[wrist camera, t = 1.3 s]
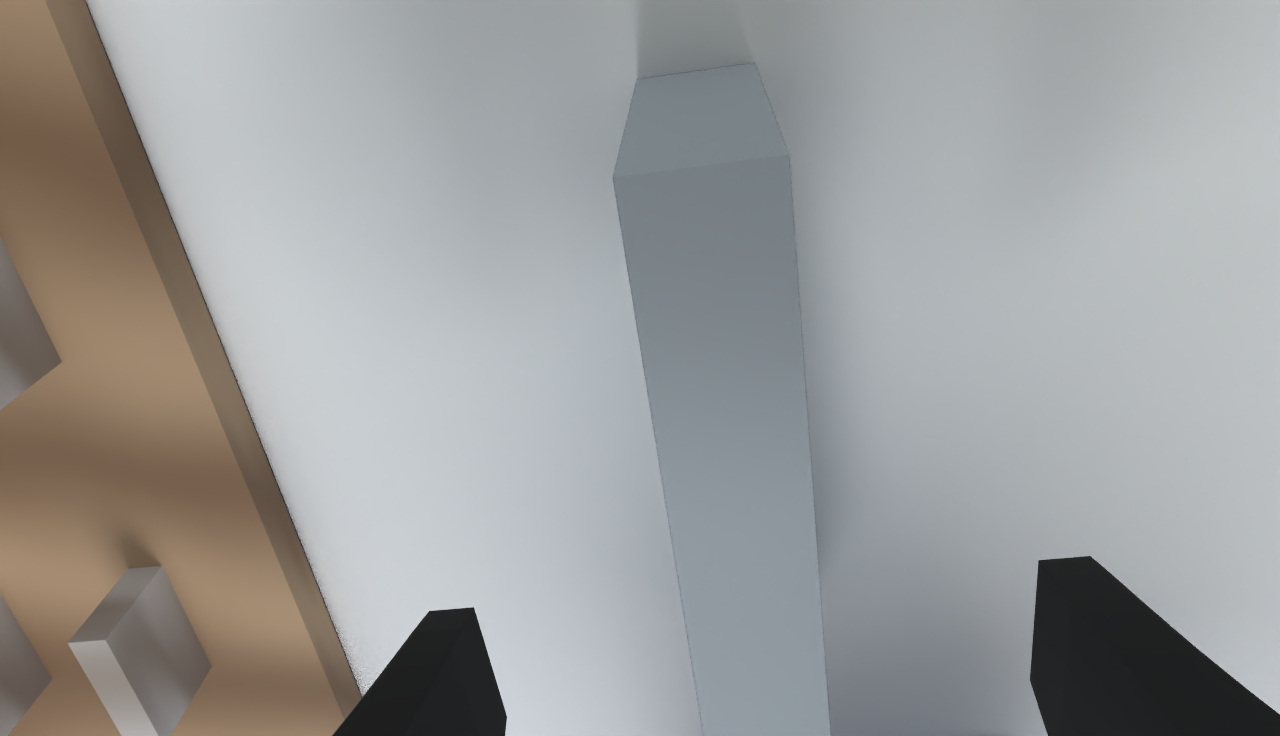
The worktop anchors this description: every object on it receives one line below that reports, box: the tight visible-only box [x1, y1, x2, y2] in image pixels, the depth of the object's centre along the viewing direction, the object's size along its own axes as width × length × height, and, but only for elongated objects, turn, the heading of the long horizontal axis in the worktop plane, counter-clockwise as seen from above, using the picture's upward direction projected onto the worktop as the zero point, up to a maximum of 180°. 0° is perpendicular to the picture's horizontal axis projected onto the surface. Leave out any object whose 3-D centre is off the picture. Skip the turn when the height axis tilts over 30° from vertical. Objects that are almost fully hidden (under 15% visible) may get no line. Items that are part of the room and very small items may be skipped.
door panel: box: [613, 63, 831, 736], centre depth 16 cm, size 12×2×6 cm, turn 8°
